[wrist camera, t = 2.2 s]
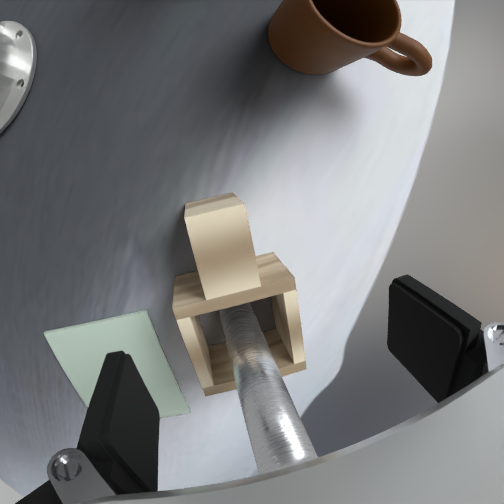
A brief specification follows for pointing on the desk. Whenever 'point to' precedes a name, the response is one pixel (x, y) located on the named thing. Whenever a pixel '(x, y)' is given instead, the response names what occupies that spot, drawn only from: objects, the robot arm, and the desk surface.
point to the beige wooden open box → (232, 290)
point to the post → (263, 394)
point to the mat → (111, 340)
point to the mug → (344, 36)
